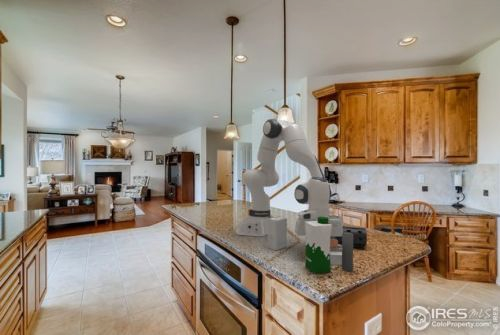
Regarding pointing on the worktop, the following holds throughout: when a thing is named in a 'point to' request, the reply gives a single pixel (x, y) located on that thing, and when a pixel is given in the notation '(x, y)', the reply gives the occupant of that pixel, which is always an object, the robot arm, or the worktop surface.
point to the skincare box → (277, 233)
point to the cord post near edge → (347, 251)
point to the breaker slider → (334, 243)
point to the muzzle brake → (355, 236)
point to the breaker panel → (336, 256)
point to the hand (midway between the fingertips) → (318, 245)
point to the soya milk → (318, 245)
